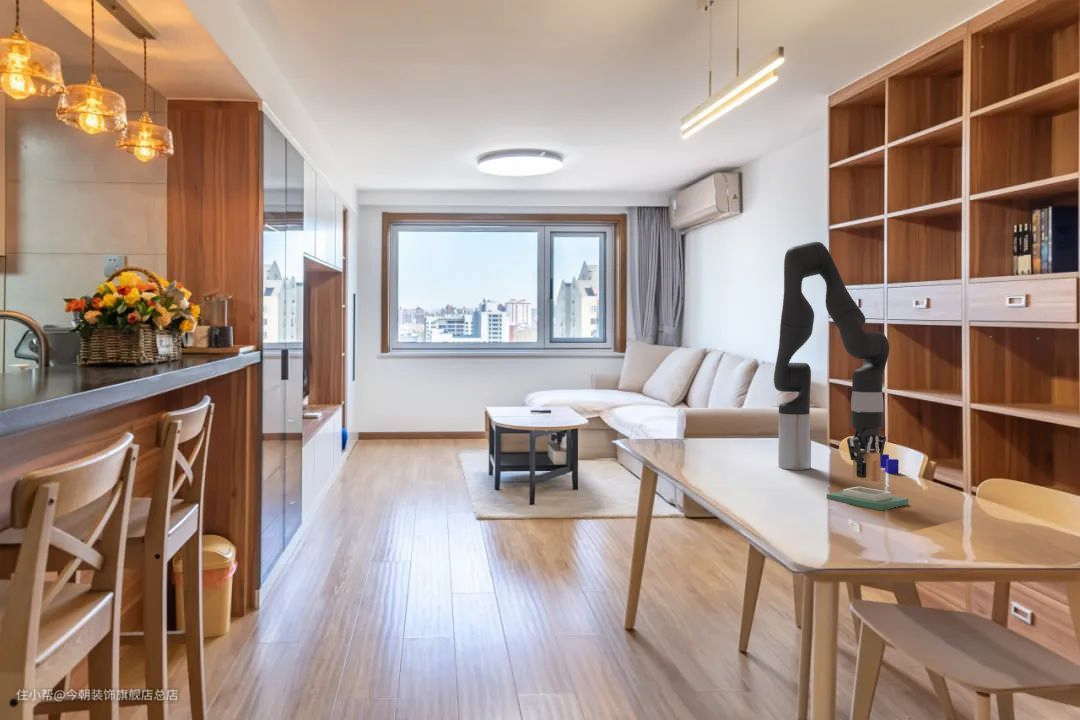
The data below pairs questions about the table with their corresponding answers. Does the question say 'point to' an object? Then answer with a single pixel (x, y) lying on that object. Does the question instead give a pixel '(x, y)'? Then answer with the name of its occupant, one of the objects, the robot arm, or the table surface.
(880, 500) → the board
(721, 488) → the table surface
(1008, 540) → the table surface
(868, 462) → the tan rectangular block
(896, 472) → the cable clip
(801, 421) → the robot arm
